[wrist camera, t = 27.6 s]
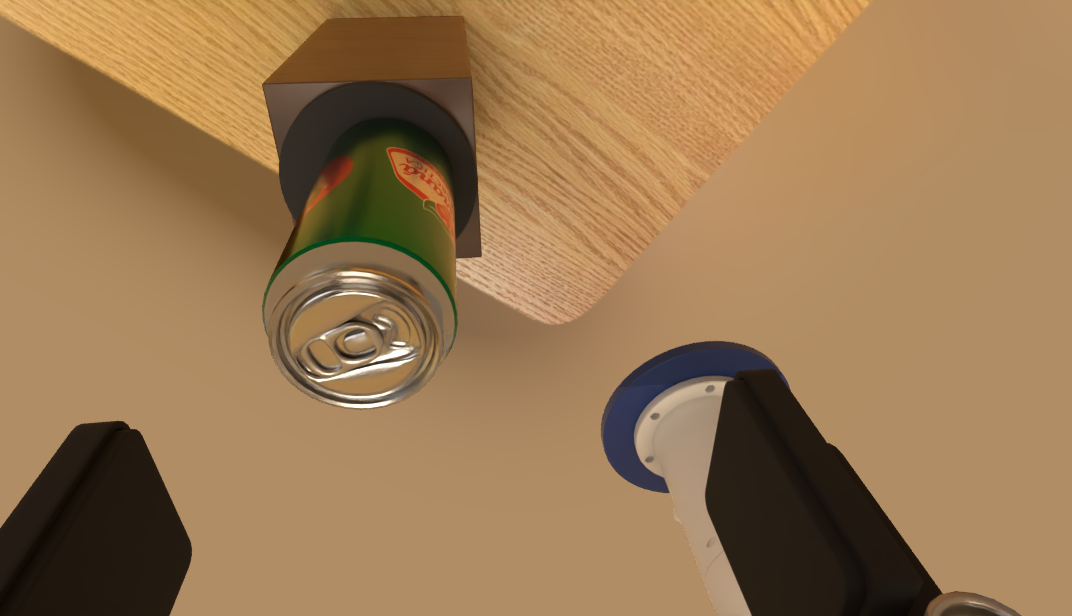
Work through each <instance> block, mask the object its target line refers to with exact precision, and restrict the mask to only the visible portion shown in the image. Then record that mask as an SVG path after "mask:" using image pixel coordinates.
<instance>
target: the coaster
mask: <svg viewBox="0 0 1072 616" xmlns="http://www.w3.org/2000/svg"><path fill="white" fill-rule="evenodd" d="M376 118H393V119H400V120H403V121H407V122H410V123H412V124H414V125H416V126H418V127H420V128H422V129H423V130H425V131H426V132H428V133H429V134H430V135H431V136H433V137H434V138H435V139H436V140H437V141H438V143H439V144H440V145H441V146H442V148H443V149H444V151H445V152H446V154H447V156H448V158H449V161H450V163H451V166H452V170H453V175H454V208H455V240H456V239H457V238H458V237H459V236H460V234H461V233H462V232H463V230H464V229H465V227H466V226H467V224H468V222H469V220H470V218H471V216H472V213H473V210H474V207H475V204H476V198H477V192H478V176H477V168H476V162H475V158H474V154H473V151H472V148H471V146H470V144H469V141H468V139H467V137H466V136H465V134H464V132H463V130H462V129H461V127H460V126H459V125H458V123H457V122H456V121H455V120H454V118H453V117H452V116H451V115H450V114H449V113H448V112H447V111H446V110H445V109H444V108H443V107H441V106H440V105H439V104H437V103H436V102H435V101H434V100H432V99H430V98H429V97H427V96H425V95H424V94H422V93H420V92H418V91H415V90H413V89H411V88H408V87H405V86H402V85H399V84H395V83H389V82H383V81H362V82H353V83H349V84H345V85H341V86H338V87H336V88H333V89H331V90H329V91H327V92H325V93H323V94H322V95H320V96H318V97H317V98H315V99H314V100H313V101H312V102H310V103H309V104H308V105H307V106H306V107H305V108H304V109H303V110H302V111H301V112H300V113H299V115H298V116H297V118H296V119H295V121H294V122H293V123H292V125H291V126H290V128H289V130H288V132H287V134H286V136H285V139H284V142H283V145H282V148H281V152H280V160H279V178H280V184H281V189H282V193H283V196H284V199H285V202H286V204H287V206H288V208H289V210H290V212H291V214H292V216H293V217H294V219H295V220H296V222H297V221H298V218H299V216H300V214H301V212H302V210H303V208H304V205H305V203H306V201H307V199H308V197H309V195H310V193H311V190H312V188H313V186H314V184H315V182H316V180H317V178H318V175H319V173H320V171H321V169H322V167H323V165H324V163H325V160H326V158H327V156H328V154H329V152H330V150H331V148H332V146H333V145H334V143H335V142H336V140H337V139H338V138H339V137H340V136H341V135H342V134H343V133H344V132H345V131H347V130H348V129H349V128H351V127H352V126H354V125H356V124H358V123H360V122H363V121H366V120H370V119H376Z"/></svg>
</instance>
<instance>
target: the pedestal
mask: <svg viewBox="0 0 1072 616" xmlns="http://www.w3.org/2000/svg"><path fill="white" fill-rule="evenodd" d="M362 81H383V82H389V83H395V84H399V85H402V86H405V87H408V88H411V89H413V90H415V91H418V92H420V93H422V94H424V95H425V96H427V97H429V98H430V99H432V100H434V101H435V102H436V103H437V104H439V105H440V106H441V107H443V108H444V109H445V110H446V111H447V112H448V113H449V114H450V115H451V116H452V117H453V118H454V120H455V121H456V122H457V123H458V125H459V126H460V127H461V129H462V130H463V132H464V134H465V136H466V137H467V139H468V141H469V144H470V146H471V148H472V151H473V154H474V158H475V162H476V168H477V160H476V142H475V124H474V105H473V87H472V75H471V68H470V61H469V54H468V47H467V40H466V33H465V26H464V19H463V16H440V17H392V18H344V19H327V20H326V21H325V22H324V23H323V24H322V25H321V26H320V27H319V28H318V29H317V30H316V31H315V32H314V33H313V34H312V35H311V36H310V37H309V38H308V39H307V40H306V41H305V42H304V43H303V44H302V45H301V46H300V47H299V48H298V49H297V50H296V51H295V52H294V53H293V54H292V55H291V56H290V57H289V58H288V59H287V60H286V61H285V62H284V63H283V64H282V65H281V66H280V67H279V68H278V69H277V70H276V71H275V72H274V73H273V74H272V75H271V76H270V77H269V78H268V79H267V80H266V81H265V82H264V83H263V84H262V86H263V91H264V95H265V100H266V104H267V108H268V113H269V117H270V122H271V126H272V131H273V135H274V139H275V144H276V148H277V153H278V157H279V160H280V152H281V148H282V145H283V142H284V139H285V136H286V134H287V132H288V130H289V128H290V126H291V125H292V123H293V122H294V121H295V119H296V118H297V116H298V115H299V113H300V112H301V111H302V110H303V109H304V108H305V107H306V106H307V105H308V104H309V103H310V102H312V101H313V100H314V99H315V98H317V97H318V96H320V95H322V94H323V93H325V92H327V91H329V90H331V89H333V88H336V87H338V86H341V85H345V84H349V83H353V82H362ZM292 219H293V223H294V227H295V225H296V223H297V222H296V220H295V219H294V217H293V216H292ZM455 247H456V258H472V257H481V256H482V252H481V233H480V215H479V197H478V192H477V198H476V204H475V207H474V210H473V213H472V216H471V218H470V220H469V222H468V224H467V226H466V227H465V229H464V230H463V232H462V233H461V234H460V236H459V237H458V238H457V239H456V240H455Z"/></svg>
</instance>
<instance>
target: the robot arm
mask: <svg viewBox="0 0 1072 616" xmlns="http://www.w3.org/2000/svg"><path fill="white" fill-rule="evenodd" d="M634 444H635V448H636V451H637V454H638V456H639V458H640V460H641V462H642V463H643V464H644V465H645V467H646V468H648V469H649V470H650V471H652V472H653V473H655V474H657V475H659V476H661V477H664V479H665V481H666V484H667V487H668V489H669V492H670V495H671V497H672V500H673V503H674V511H673V517H674V519H675V520H676V521H677V522H680V523H681V524H682V527H683V529H684V532H685V534H686V537H687V540H688V542H689V545H690V548H691V550H692V553H693V556H694V558H695V561H696V563H697V566H698V569H699V571H700V574H701V577H702V579H703V582H704V585H705V588H706V591H707V593H708V596H709V598H710V601H711V604H712V605H713V607H714V610H715V611H716V613H717V615H718V616H1021V615H1020V614H1018V613H1017V612H1016V611H1015V610H1013V609H1011V608H1009V607H1007V606H1005V605H1003V604H1002V603H999V602H998V601H996V600H994V599H991V598H988V597H985V596H982V595H978V594H975V593H967V592H958V591H955V592H950V593H945V594H943V593H942V592H941V591H940V589H939V588H938V586H937V585H936V584H935V582H934V581H933V580H932V578H931V577H930V575H929V574H928V572H927V571H926V570H925V568H924V567H923V566H922V564H921V563H920V561H919V560H918V559H917V557H916V556H915V554H914V553H913V552H912V550H911V549H910V547H909V546H908V545H907V543H906V542H905V541H904V539H903V538H902V536H901V535H900V533H899V532H898V531H897V530H896V528H895V527H894V525H893V524H892V522H891V521H890V520H889V518H888V517H887V516H886V514H885V513H884V511H883V510H882V509H881V507H880V506H879V504H878V503H877V501H876V500H875V499H874V497H873V496H872V494H871V493H870V492H869V490H868V489H867V487H866V486H865V485H864V484H863V482H862V481H861V479H860V478H859V476H858V475H857V474H856V472H855V471H854V469H853V468H852V467H851V465H850V464H849V462H848V461H847V460H846V458H845V457H844V455H843V454H842V453H841V452H840V451H839V450H838V449H837V448H836V447H835V446H833V445H831V444H830V443H826V441H825V439H824V438H823V437H822V435H821V434H820V432H819V431H818V429H817V428H816V427H815V425H814V424H813V422H812V421H811V419H810V418H809V417H808V415H807V414H806V412H805V411H804V410H803V408H802V407H801V405H800V404H799V402H798V401H797V400H796V398H795V397H794V395H793V394H792V392H791V391H790V390H789V388H788V387H787V385H786V384H785V382H784V381H783V380H782V378H781V377H780V375H779V374H778V373H777V372H776V371H775V370H773V369H760V370H747V371H739V372H737V373H736V375H735V377H734V378H731V377H726V376H718V375H716V376H702V377H697V378H692V379H689V380H686V381H683V382H680V383H678V384H676V385H674V386H672V387H670V388H668V389H666V390H665V391H663V392H662V393H660V394H659V395H658V396H656V397H655V398H654V399H653V400H652V401H651V402H650V403H649V404H648V405H647V406H646V408H645V409H644V410H643V412H642V413H641V414H640V416H639V418H638V421H637V423H636V426H635V430H634ZM191 556H192V547H191V542H190V539H189V537H188V535H187V533H186V530H185V528H184V526H183V524H182V522H181V520H180V517H179V515H178V513H177V511H176V509H175V506H174V504H173V502H172V500H171V498H170V495H169V493H168V491H167V489H166V487H165V485H164V482H163V480H162V478H161V476H160V474H159V472H158V469H157V467H156V465H155V463H154V460H153V458H152V456H151V454H150V452H149V450H148V447H147V445H146V443H145V441H144V439H143V436H142V435H141V433H140V432H139V431H138V430H136V429H130V427H129V426H128V425H127V424H126V423H125V422H123V421H113V422H99V423H88V424H80V425H78V426H76V427H75V428H74V429H73V430H72V431H71V433H70V434H69V435H68V437H67V438H66V440H65V441H64V442H63V443H62V445H61V446H60V448H59V449H58V450H57V452H56V453H55V455H54V456H53V457H52V458H51V460H50V461H49V463H48V464H47V465H46V467H45V468H44V469H43V471H42V472H41V474H40V475H39V477H38V478H37V479H36V480H35V482H34V483H33V484H32V486H31V487H30V489H29V490H28V491H27V493H26V494H25V495H24V497H23V498H22V500H21V501H20V502H19V504H18V505H17V507H16V508H15V509H14V510H13V512H12V513H11V515H10V516H9V517H8V519H7V520H6V521H5V523H4V524H3V525H2V527H1V528H0V616H169V615H170V613H171V610H172V608H173V605H174V603H175V600H176V598H177V595H178V593H179V590H180V588H181V585H182V583H183V580H184V578H185V575H186V573H187V570H188V568H189V565H190V562H191Z"/></svg>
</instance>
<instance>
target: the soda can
mask: <svg viewBox="0 0 1072 616" xmlns="http://www.w3.org/2000/svg"><path fill="white" fill-rule="evenodd" d="M262 311H263V322H264V326H265V331H266V334H267V336H268V338H269V346H270V350H271V354H272V357H273V359H274V361H275V363H276V365H277V367H278V368H279V370H280V371H281V373H282V374H283V375H284V377H285V378H286V379H287V380H288V381H289V382H290V383H291V384H292V385H293V386H295V387H296V388H297V389H298V390H300V391H301V392H303V393H305V394H306V395H308V396H310V397H311V398H313V399H316V400H318V401H320V402H323V403H325V404H329V405H332V406H336V407H342V408H346V409H360V410H362V409H375V408H381V407H386V406H390V405H393V404H396V403H399V402H401V401H403V400H405V399H407V398H409V397H411V396H412V395H414V394H415V393H417V392H418V391H419V390H420V389H422V388H423V387H424V386H425V385H426V384H427V383H428V382H429V381H430V379H431V378H432V377H433V375H434V374H435V372H436V370H437V368H438V367H439V366H440V364H441V363H442V362H443V361H444V359H445V358H446V357H447V355H448V353H449V351H450V350H451V348H452V345H453V342H454V340H455V337H456V331H457V287H456V247H455V208H454V175H453V170H452V166H451V163H450V161H449V158H448V156H447V154H446V152H445V151H444V149H443V148H442V146H441V145H440V144H439V143H438V141H437V140H436V139H435V138H434V137H433V136H431V135H430V134H429V133H428V132H426V131H425V130H423V129H422V128H420V127H418V126H416V125H414V124H412V123H410V122H407V121H403V120H400V119H393V118H376V119H370V120H366V121H363V122H360V123H358V124H356V125H354V126H352V127H351V128H349V129H348V130H347V131H345V132H344V133H343V134H342V135H341V136H340V137H339V138H338V139H337V140H336V142H335V143H334V145H333V146H332V148H331V150H330V152H329V154H328V156H327V158H326V160H325V163H324V165H323V167H322V169H321V171H320V173H319V175H318V178H317V180H316V182H315V184H314V186H313V188H312V190H311V193H310V195H309V197H308V199H307V201H306V203H305V205H304V208H303V210H302V212H301V214H300V216H299V218H298V221H297V223H296V225H295V227H294V229H293V231H292V234H291V236H290V238H289V240H288V242H287V244H286V246H285V249H284V251H283V253H282V255H281V257H280V259H279V261H278V263H277V266H276V268H275V270H274V272H273V274H272V276H271V279H270V281H269V283H268V286H267V288H266V291H265V293H264V300H263V305H262Z"/></svg>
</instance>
